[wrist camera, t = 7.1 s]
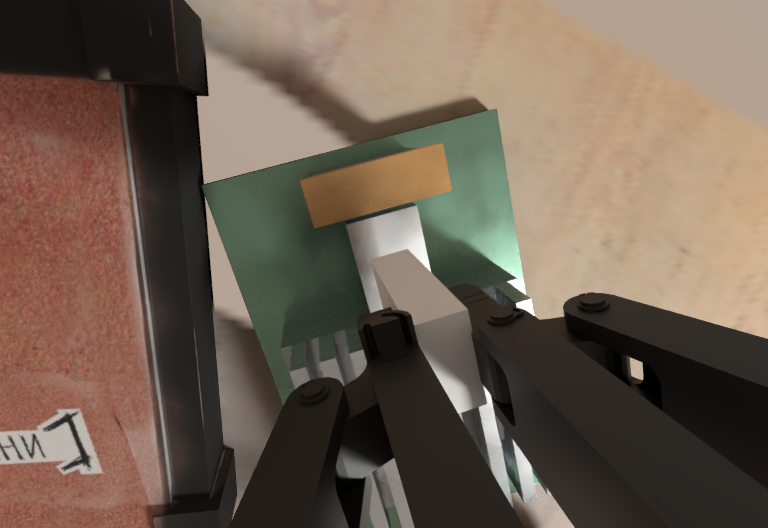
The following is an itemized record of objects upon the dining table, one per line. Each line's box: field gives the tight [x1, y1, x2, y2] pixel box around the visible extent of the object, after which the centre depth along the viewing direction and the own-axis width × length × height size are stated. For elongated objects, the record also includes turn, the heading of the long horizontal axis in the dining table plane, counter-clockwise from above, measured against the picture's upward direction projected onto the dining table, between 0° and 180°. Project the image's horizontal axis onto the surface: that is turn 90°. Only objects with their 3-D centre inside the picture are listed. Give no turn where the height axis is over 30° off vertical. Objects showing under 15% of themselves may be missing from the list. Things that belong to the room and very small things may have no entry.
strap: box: [345, 202, 463, 421], centre depth 22 cm, size 3×20×1 cm, turn 14°
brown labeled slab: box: [0, 0, 237, 528], centre depth 20 cm, size 26×18×5 cm
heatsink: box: [202, 109, 551, 528], centre depth 23 cm, size 15×24×7 cm, turn 14°
